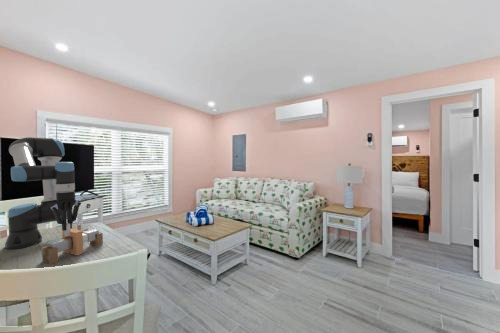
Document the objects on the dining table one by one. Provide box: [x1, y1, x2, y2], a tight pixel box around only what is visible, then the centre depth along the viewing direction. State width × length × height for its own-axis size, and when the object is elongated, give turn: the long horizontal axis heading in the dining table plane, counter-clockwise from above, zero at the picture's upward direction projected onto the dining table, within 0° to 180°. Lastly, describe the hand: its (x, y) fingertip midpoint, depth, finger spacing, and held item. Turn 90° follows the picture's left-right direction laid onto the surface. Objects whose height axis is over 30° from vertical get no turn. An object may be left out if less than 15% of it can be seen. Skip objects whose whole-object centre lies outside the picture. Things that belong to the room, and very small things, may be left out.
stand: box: [41, 231, 104, 265], centre depth 116 cm, size 7×25×7 cm, turn 158°
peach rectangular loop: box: [61, 228, 84, 256], centre depth 115 cm, size 12×3×12 cm, turn 68°
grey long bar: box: [46, 228, 100, 254], centre depth 116 cm, size 5×22×5 cm, turn 158°
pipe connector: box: [76, 223, 89, 233], centre depth 133 cm, size 10×10×10 cm
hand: (67, 235), depth 113 cm, fingers closed
